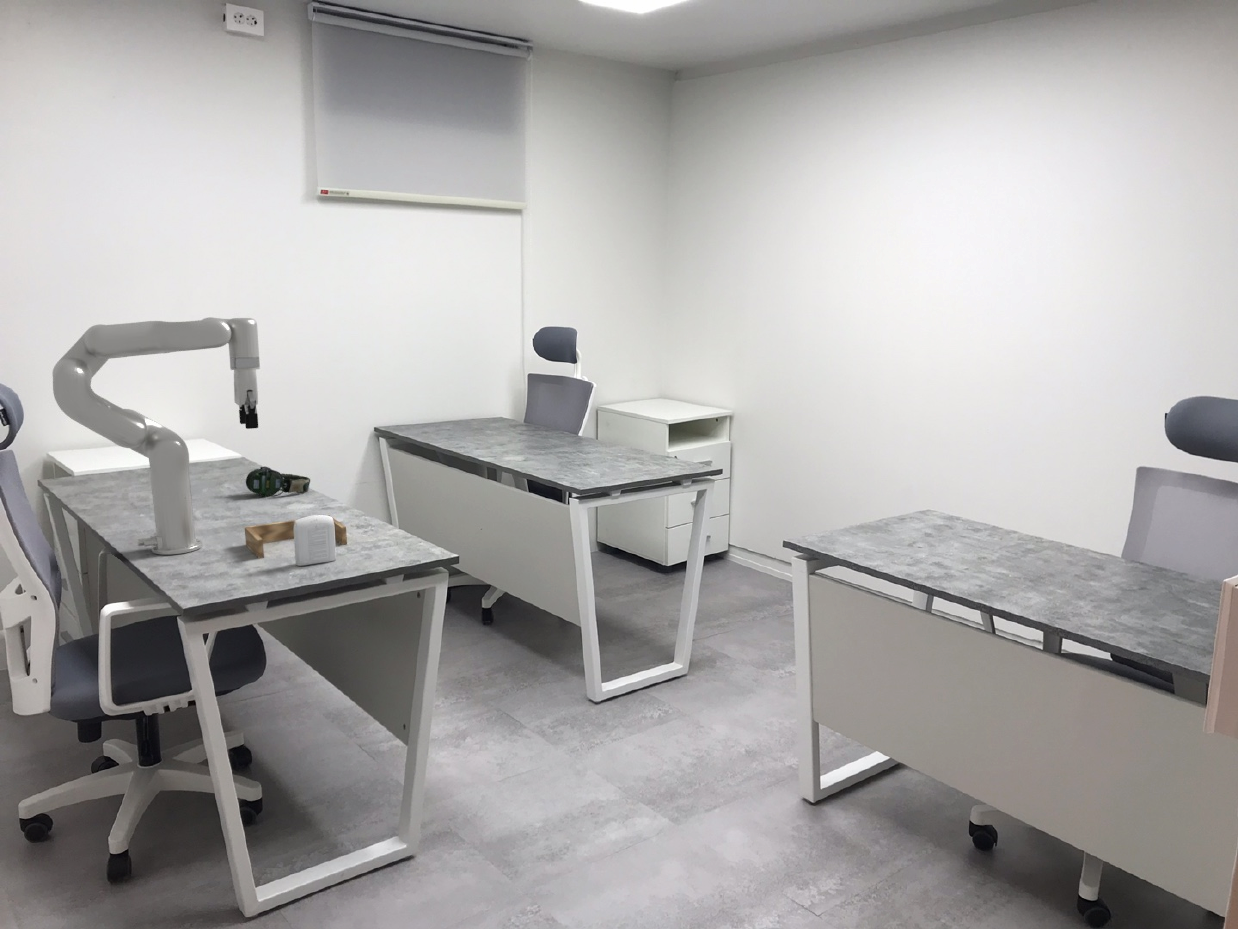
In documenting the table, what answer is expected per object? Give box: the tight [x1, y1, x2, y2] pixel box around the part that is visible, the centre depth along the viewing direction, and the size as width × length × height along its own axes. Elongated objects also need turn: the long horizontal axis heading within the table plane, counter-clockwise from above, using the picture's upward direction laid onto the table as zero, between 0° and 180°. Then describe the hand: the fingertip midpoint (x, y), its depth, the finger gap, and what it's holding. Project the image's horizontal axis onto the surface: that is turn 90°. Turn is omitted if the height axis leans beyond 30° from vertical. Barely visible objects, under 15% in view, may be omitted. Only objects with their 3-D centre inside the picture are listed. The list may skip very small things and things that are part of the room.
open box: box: [244, 515, 348, 559], centre depth 263 cm, size 23×16×5 cm
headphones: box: [245, 466, 311, 498], centre depth 324 cm, size 13×13×20 cm
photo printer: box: [293, 514, 337, 567], centre depth 246 cm, size 10×4×12 cm, turn 123°
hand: (249, 425), depth 264 cm, fingers open, 9 cm apart
